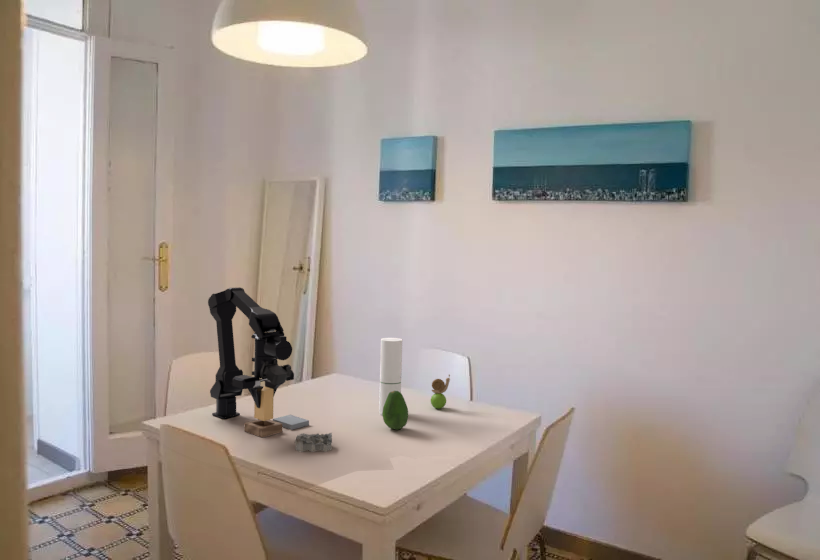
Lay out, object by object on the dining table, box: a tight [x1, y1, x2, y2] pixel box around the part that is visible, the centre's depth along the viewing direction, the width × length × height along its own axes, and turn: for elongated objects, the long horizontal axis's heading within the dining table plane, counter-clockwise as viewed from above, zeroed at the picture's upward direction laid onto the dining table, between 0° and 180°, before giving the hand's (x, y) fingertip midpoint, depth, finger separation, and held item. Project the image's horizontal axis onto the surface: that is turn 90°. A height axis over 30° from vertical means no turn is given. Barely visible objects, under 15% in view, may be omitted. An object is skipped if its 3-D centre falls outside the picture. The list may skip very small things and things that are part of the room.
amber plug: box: [253, 385, 275, 421], centre depth 199 cm, size 4×4×9 cm
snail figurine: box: [430, 374, 451, 410], centre depth 231 cm, size 5×6×12 cm
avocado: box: [381, 391, 409, 431], centre depth 206 cm, size 8×8×12 cm
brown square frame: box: [243, 419, 283, 438], centre depth 200 cm, size 8×8×2 cm
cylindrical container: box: [378, 337, 403, 416], centre depth 223 cm, size 7×7×25 cm
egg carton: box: [294, 432, 333, 453], centre depth 187 cm, size 10×7×4 cm
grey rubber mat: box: [272, 414, 310, 431], centre depth 208 cm, size 9×7×2 cm
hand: (263, 406), depth 199 cm, fingers closed on amber plug, 3 cm apart
